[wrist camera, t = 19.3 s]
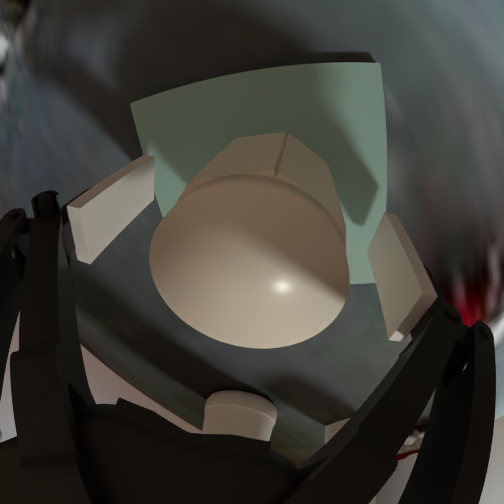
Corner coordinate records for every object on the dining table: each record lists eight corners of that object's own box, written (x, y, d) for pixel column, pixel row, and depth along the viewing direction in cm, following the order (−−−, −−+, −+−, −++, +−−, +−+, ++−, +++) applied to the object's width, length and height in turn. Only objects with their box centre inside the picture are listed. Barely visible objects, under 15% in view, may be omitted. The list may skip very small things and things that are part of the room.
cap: (201, 144, 15) (121, 204, 8) (325, 128, 13) (350, 177, 7) (226, 246, 18) (185, 344, 12) (332, 240, 17) (343, 347, 10)
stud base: (135, 102, 14) (66, 121, 9) (377, 63, 11) (422, 55, 6) (191, 283, 22) (162, 343, 17) (377, 277, 18) (393, 345, 13)
